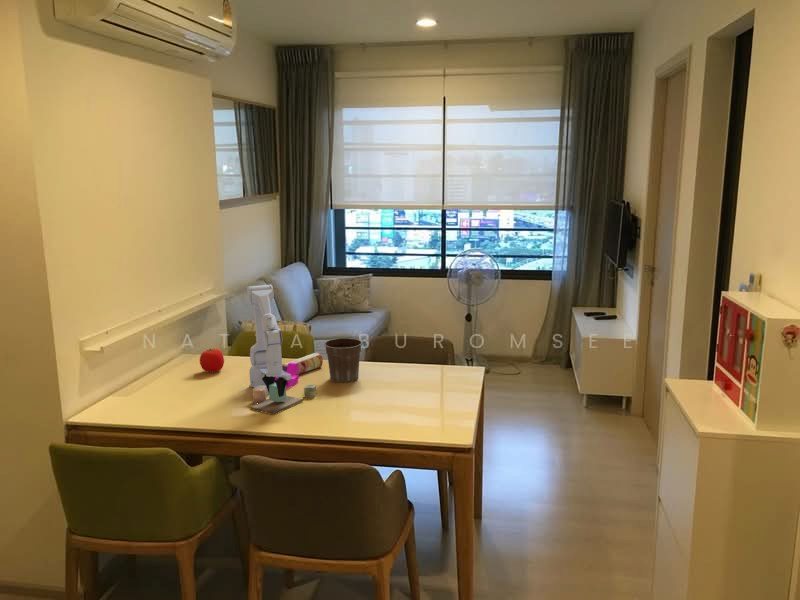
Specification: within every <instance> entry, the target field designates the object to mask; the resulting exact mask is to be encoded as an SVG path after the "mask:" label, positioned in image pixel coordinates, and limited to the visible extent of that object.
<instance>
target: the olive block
mask: <svg viewBox="0 0 800 600" xmlns="http://www.w3.org/2000/svg"><path fill="white" fill-rule="evenodd" d="M303 391H304V395H303V396H304V398H315V397H316V395H317V385H316V384H305V385H304V387H303Z"/></svg>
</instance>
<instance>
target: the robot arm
mask: <svg viewBox="0 0 800 600" xmlns="http://www.w3.org/2000/svg"><path fill="white" fill-rule="evenodd" d="M246 294H247V303H248V305H251V306H252V307H253V310H254V311H253V312H254V314H253V315H254V326H255V327H254V328H255V341H256V342H255V344H253V345H252V346H251V347H250V350H249V352H250V353H249V359H250V365H251V366H250V368H249V385H248V386H249V387H250V388H255V387H257V386H258V385H266V387H267V389H268V393H269V385H271V384H273V383H274V382H275V383H276V385H277V389H278V395H279V397H282V396H284V391H285V387H286V384H287V382H288V380H290V379H291V374H288V373H286V372H284V371H282V364H283V361H282V358H283V357H282V344H283V334H282V333H283V332H282V331H281V329H280V327H279V326H278V321H277V318H276V316H275V315H274V314H272V306H271V302H273V299H274V296H275V293H274V287H273V285H272V284H264V285H263V284H262V285H251V286H250V285H249V286H248V287H247V288H246ZM275 377H277V378H279V379H277V380H275Z"/></svg>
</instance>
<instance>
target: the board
mask: <svg viewBox="0 0 800 600" xmlns="http://www.w3.org/2000/svg"><path fill="white" fill-rule="evenodd" d="M303 401H304V400H303V398H299V397H296V396H295V397H294V396H290V395H286V399H285V400H282V401H280V402H276V401H271V400H270V398H268V399H267V398H266V400H265V401H263V402H260V403H258V404H255V403H254V405H251V406H250V410H252V409H254V410H253V411H256V410H258V411H257V412H261V411H262V413H265V412H266V413H265V414H269V413H270V415H273V414H274V415H277V414H279V413H281V412H283V411H285V410H288V409H290V408H292V407H294V406H297V405H299V404H300V402H301V403H303ZM293 405H294V406H293ZM291 406H292V407H291ZM289 407H290V408H289ZM287 408H288V409H287ZM282 410H283V411H282ZM280 411H281V412H280ZM278 412H279V413H278ZM276 413H277V414H276Z"/></svg>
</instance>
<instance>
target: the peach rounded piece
mask: <svg viewBox="0 0 800 600" xmlns="http://www.w3.org/2000/svg"><path fill="white" fill-rule="evenodd" d="M252 399H253V400H252V401H253V404H255V403H260V402H263V401H265V400H267V396H266V388H263V387H259V388H255V387H253V389H252Z"/></svg>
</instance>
